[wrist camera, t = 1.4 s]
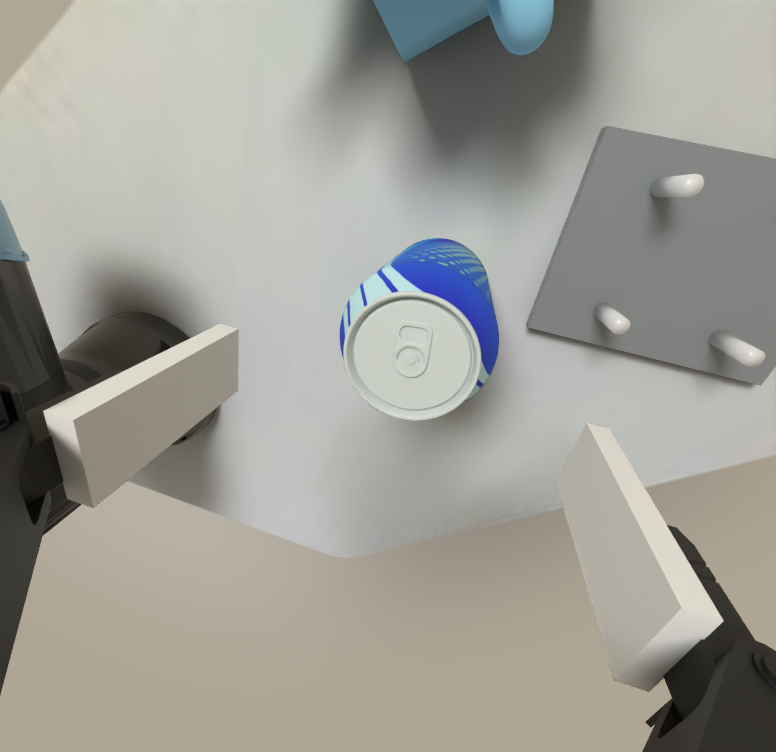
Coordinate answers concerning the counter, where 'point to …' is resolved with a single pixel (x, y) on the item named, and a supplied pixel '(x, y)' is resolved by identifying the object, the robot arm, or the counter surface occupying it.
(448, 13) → the teakettle
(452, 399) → the beer can
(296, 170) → the counter surface
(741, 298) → the pegboard
